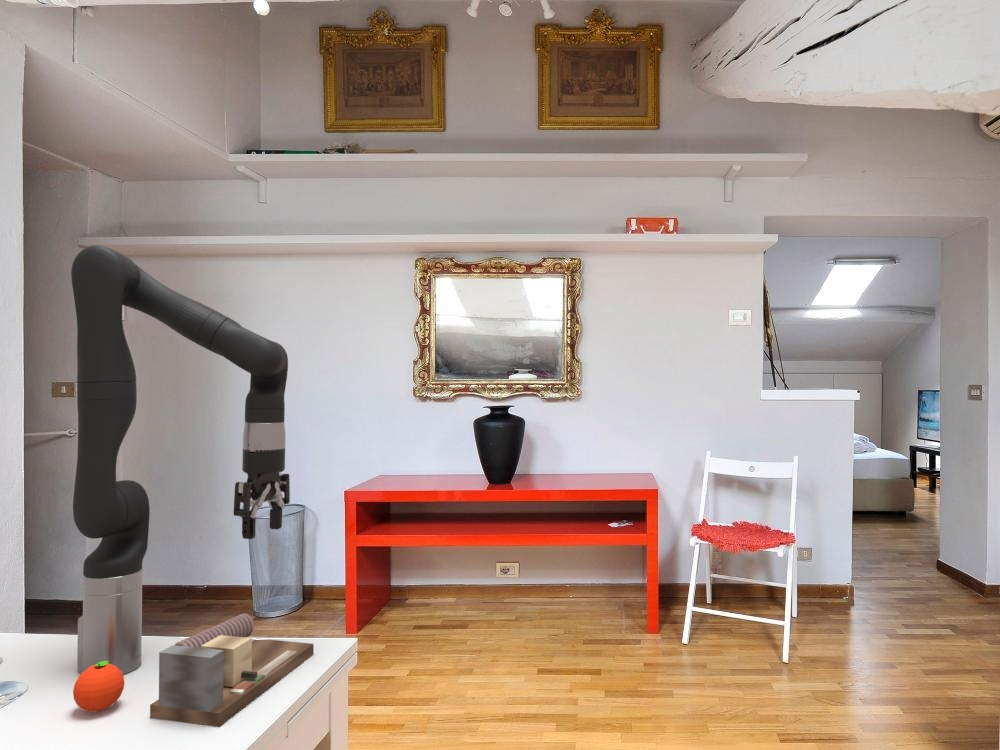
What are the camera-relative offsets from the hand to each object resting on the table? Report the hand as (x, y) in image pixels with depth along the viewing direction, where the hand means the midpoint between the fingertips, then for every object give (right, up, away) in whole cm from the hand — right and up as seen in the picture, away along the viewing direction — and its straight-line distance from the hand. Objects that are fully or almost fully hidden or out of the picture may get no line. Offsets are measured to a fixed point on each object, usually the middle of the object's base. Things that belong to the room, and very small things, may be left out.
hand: (262, 533), depth 125 cm
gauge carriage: (0, -20, -16) cm, 26 cm away
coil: (-10, -24, +4) cm, 26 cm away
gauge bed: (0, -23, -11) cm, 25 cm away
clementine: (-18, -23, -20) cm, 36 cm away
